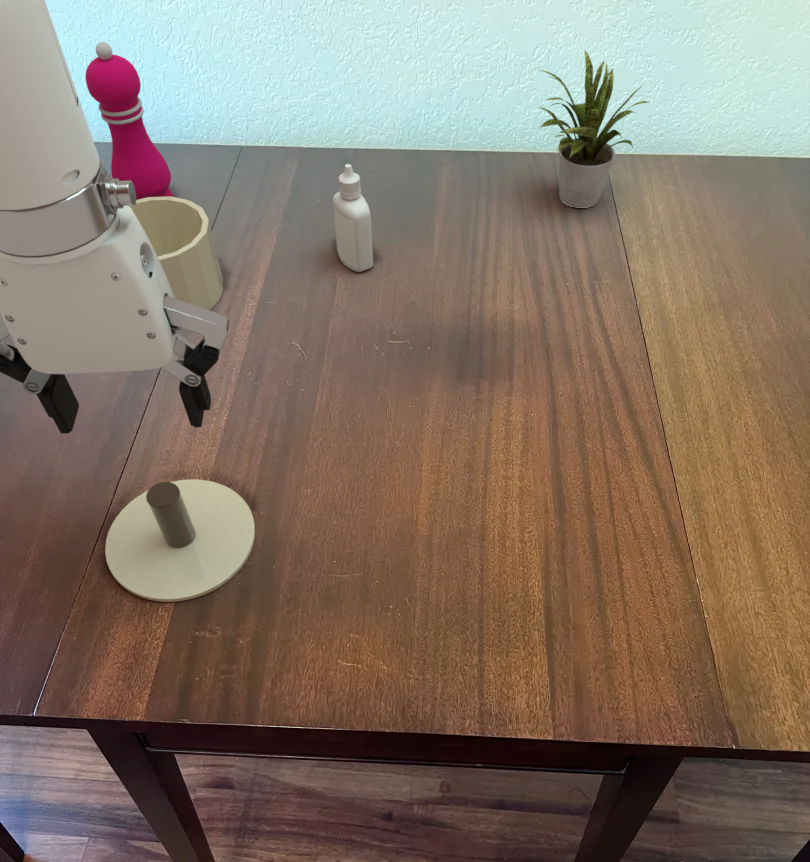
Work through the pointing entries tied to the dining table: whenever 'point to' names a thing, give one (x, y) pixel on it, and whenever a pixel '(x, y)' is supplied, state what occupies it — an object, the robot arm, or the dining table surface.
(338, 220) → the eye dropper bottle
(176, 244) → the pot
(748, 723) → the dining table surface
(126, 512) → the lid
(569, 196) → the house plant
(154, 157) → the pepper mill
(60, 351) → the robot arm
